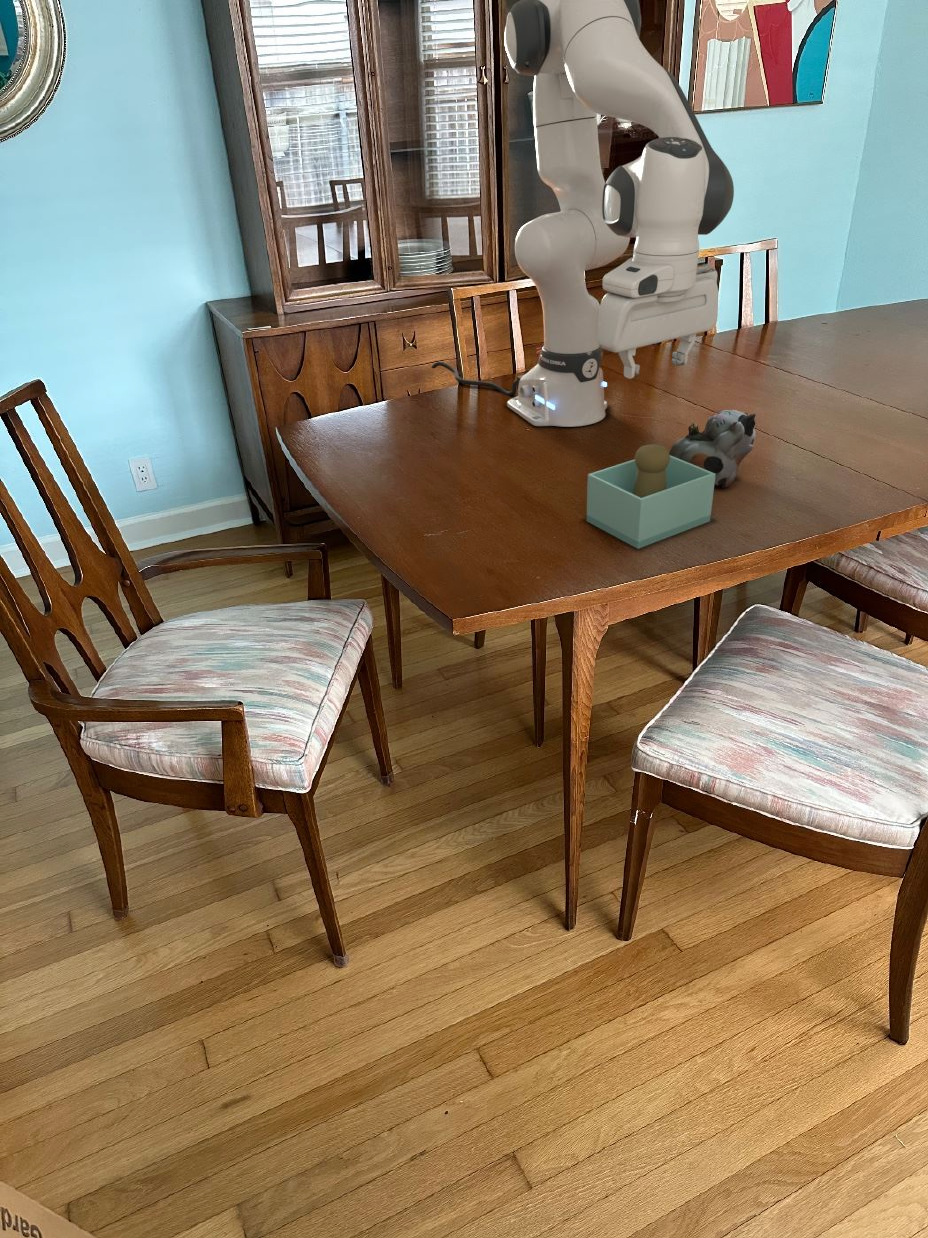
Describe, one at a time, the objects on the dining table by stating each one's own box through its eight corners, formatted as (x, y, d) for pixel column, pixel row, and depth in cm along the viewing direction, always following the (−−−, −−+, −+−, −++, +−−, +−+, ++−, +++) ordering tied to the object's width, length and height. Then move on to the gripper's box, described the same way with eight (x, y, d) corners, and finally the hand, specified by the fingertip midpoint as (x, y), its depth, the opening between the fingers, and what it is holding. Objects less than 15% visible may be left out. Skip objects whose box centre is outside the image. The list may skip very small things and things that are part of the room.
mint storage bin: (587, 474, 131) (641, 499, 123) (660, 450, 138) (715, 473, 129) (586, 521, 136) (637, 549, 127) (656, 496, 142) (710, 521, 133)
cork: (668, 523, 131) (673, 455, 125) (628, 521, 132) (631, 454, 126) (667, 506, 136) (673, 440, 130) (629, 504, 137) (633, 439, 131)
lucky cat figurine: (663, 459, 155) (703, 387, 150) (723, 489, 154) (765, 418, 149) (661, 467, 141) (704, 389, 136) (727, 501, 140) (773, 423, 135)
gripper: (701, 258, 125) (691, 352, 133) (593, 279, 117) (588, 378, 124) (734, 264, 121) (721, 362, 129) (623, 286, 112) (617, 390, 120)
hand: (655, 370), depth 126 cm, fingers open, 8 cm apart
